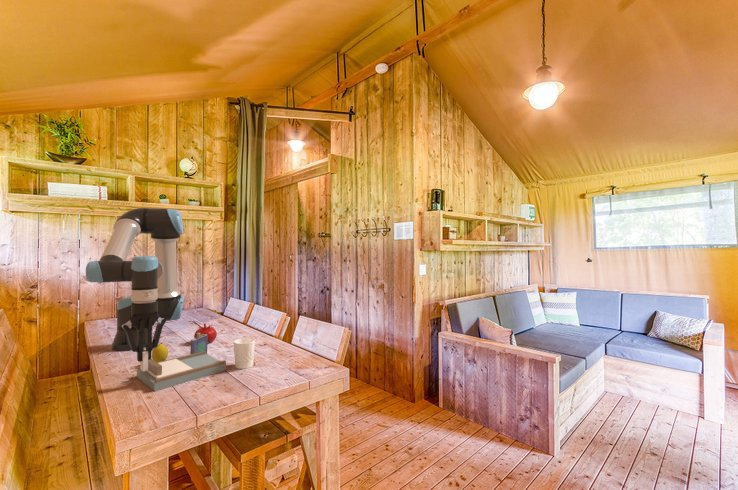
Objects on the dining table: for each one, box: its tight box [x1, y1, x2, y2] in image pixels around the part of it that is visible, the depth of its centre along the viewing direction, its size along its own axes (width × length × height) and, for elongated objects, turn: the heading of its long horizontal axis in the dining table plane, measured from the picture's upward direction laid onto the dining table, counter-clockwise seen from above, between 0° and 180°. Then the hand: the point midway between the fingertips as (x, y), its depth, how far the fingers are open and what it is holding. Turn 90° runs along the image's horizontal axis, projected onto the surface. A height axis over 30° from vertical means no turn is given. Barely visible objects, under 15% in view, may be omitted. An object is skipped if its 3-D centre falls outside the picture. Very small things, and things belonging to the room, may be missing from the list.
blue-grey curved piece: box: [190, 333, 208, 355], centre depth 140 cm, size 9×3×11 cm, turn 170°
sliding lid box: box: [136, 351, 227, 392], centre depth 123 cm, size 18×24×4 cm
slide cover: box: [147, 358, 193, 379], centre depth 120 cm, size 15×11×4 cm
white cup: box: [233, 337, 256, 370], centre depth 132 cm, size 8×8×10 cm
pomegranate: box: [193, 323, 218, 344], centre depth 162 cm, size 10×10×9 cm
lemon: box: [151, 343, 169, 362], centre depth 133 cm, size 6×6×8 cm
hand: (144, 369), depth 114 cm, fingers closed
